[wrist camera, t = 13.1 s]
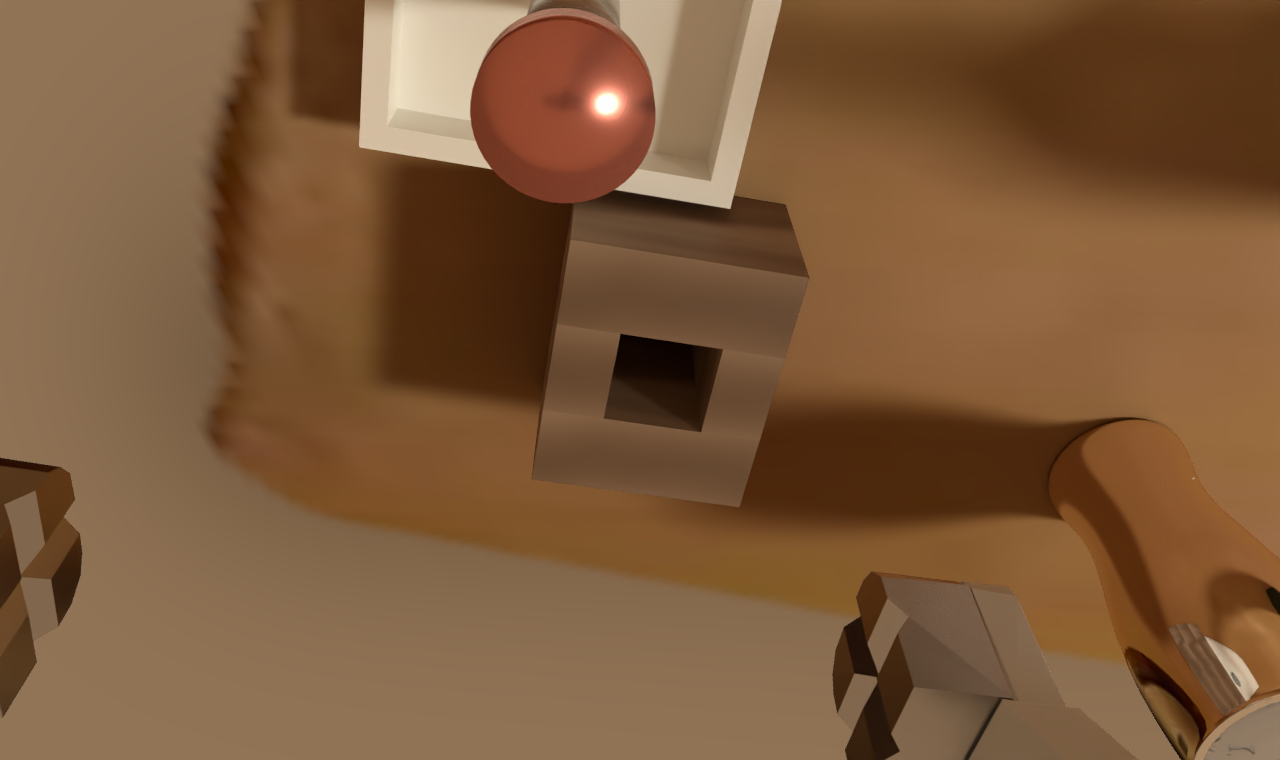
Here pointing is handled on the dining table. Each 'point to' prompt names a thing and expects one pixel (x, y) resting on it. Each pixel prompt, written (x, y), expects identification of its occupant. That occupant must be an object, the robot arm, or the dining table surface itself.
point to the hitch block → (667, 345)
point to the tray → (649, 15)
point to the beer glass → (1178, 589)
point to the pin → (564, 102)
